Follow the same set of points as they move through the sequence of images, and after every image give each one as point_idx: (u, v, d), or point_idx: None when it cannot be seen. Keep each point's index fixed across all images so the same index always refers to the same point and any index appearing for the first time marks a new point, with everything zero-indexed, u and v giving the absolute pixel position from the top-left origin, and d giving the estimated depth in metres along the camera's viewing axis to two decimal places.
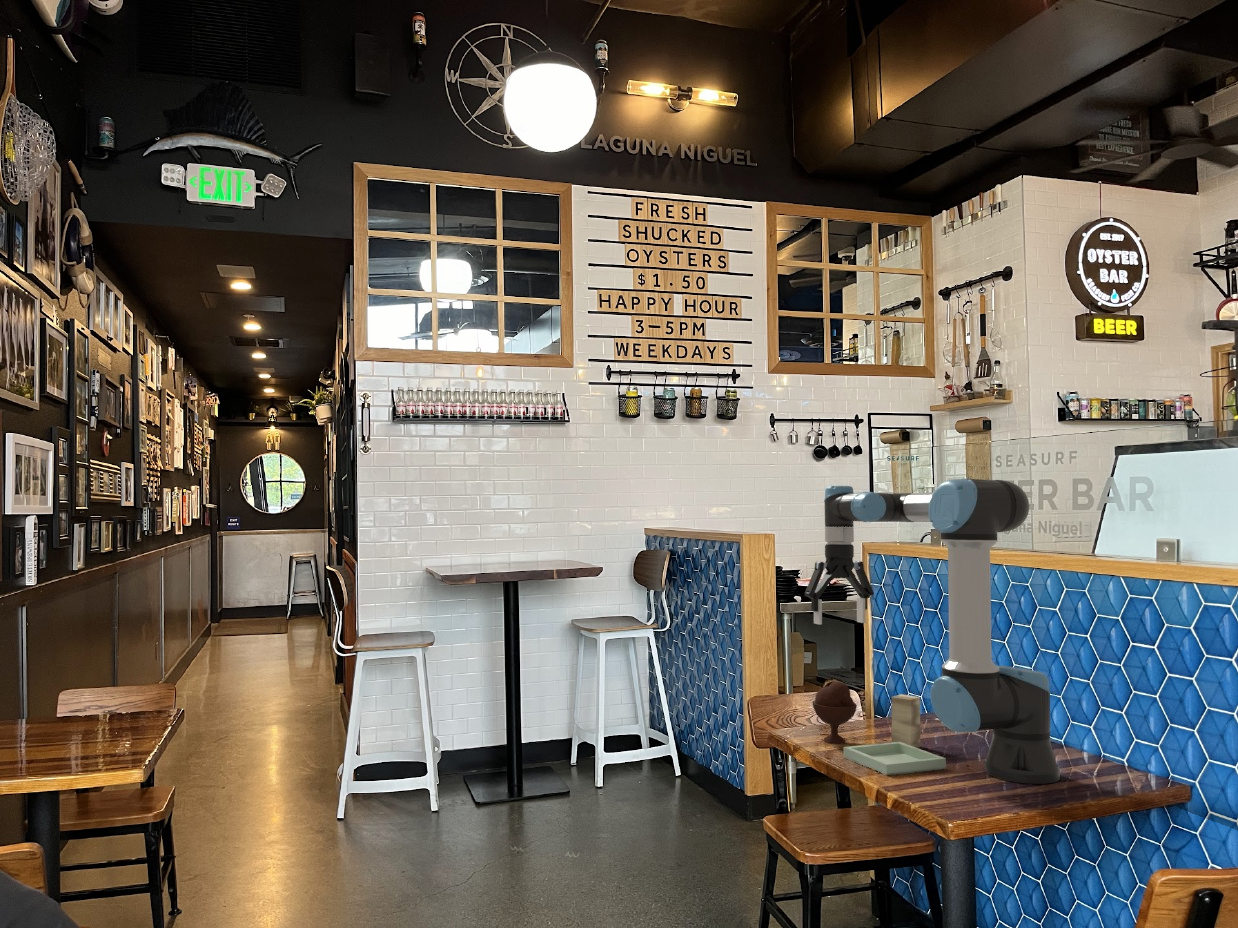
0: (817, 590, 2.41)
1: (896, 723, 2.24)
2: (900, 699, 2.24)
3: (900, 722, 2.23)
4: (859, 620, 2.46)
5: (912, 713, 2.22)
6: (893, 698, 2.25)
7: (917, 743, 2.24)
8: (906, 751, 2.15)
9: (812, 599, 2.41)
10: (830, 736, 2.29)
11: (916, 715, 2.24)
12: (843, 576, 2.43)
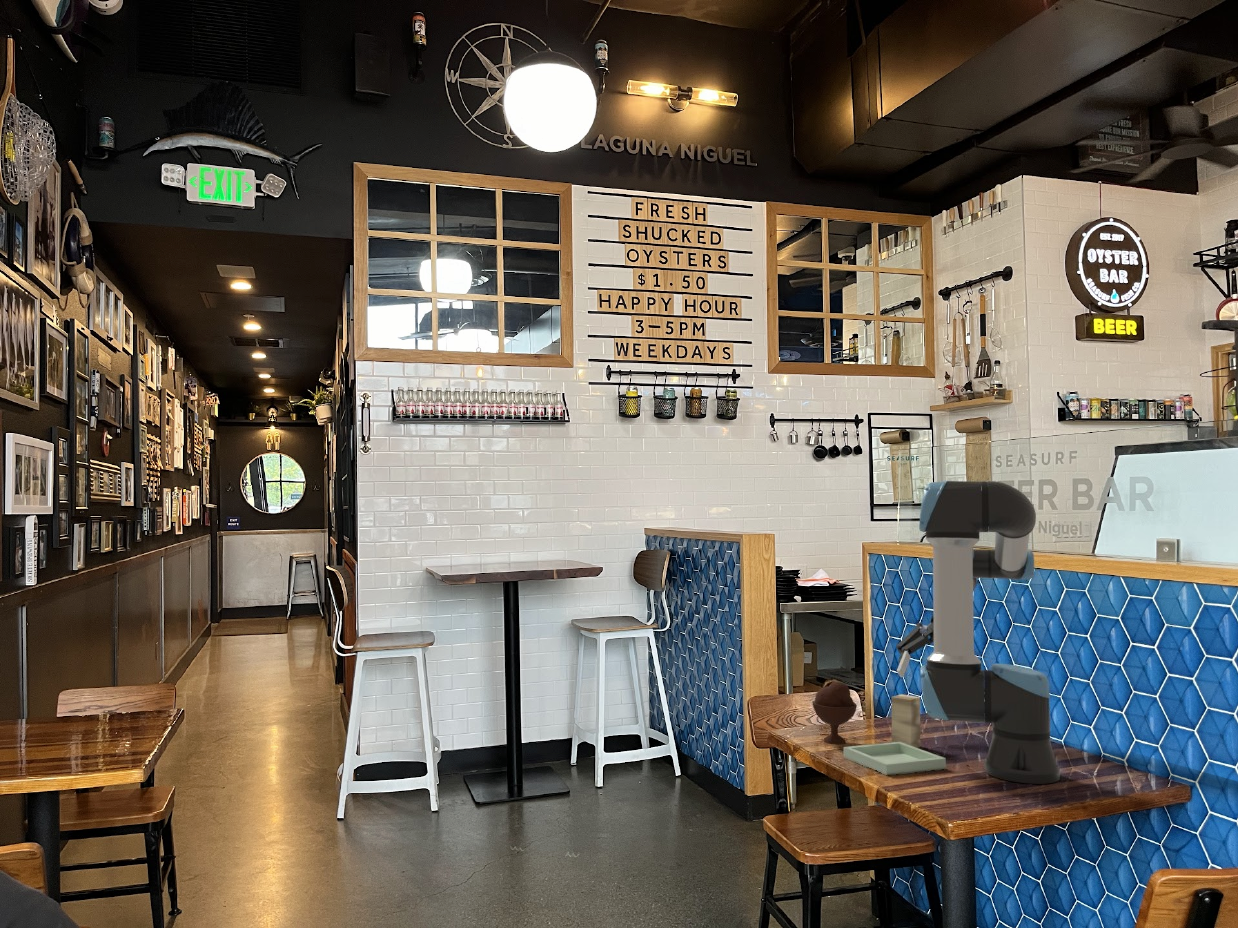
0: None
1: (896, 723, 2.24)
2: (900, 699, 2.24)
3: (900, 722, 2.23)
4: None
5: (912, 713, 2.22)
6: (893, 698, 2.25)
7: (917, 743, 2.24)
8: (906, 751, 2.15)
9: None
10: (830, 736, 2.29)
11: (916, 715, 2.24)
12: None
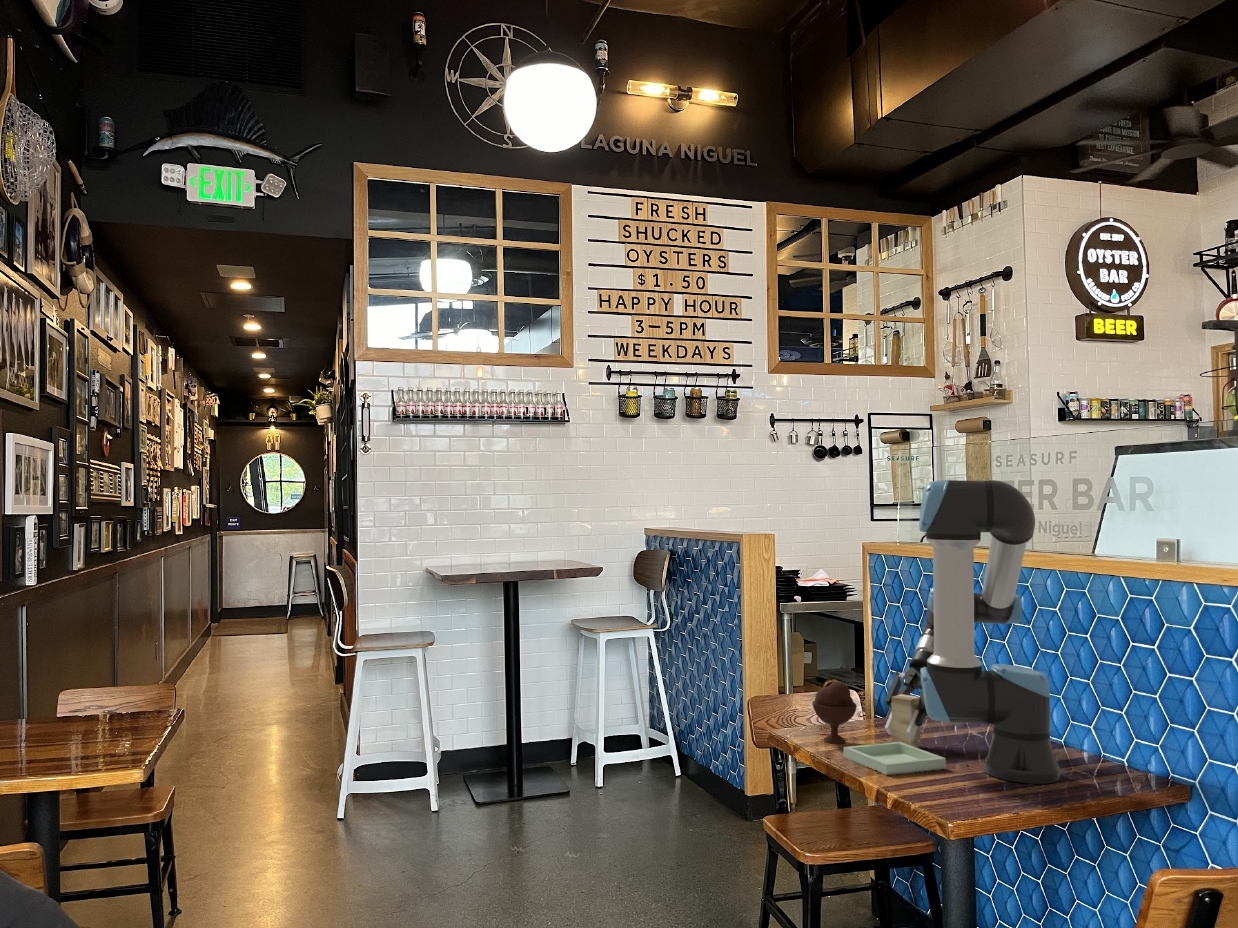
0: None
1: (896, 723, 2.24)
2: (900, 699, 2.24)
3: (900, 722, 2.23)
4: None
5: (912, 713, 2.22)
6: (893, 698, 2.25)
7: (917, 743, 2.24)
8: (906, 751, 2.15)
9: None
10: (830, 736, 2.29)
11: None
12: (918, 683, 2.29)
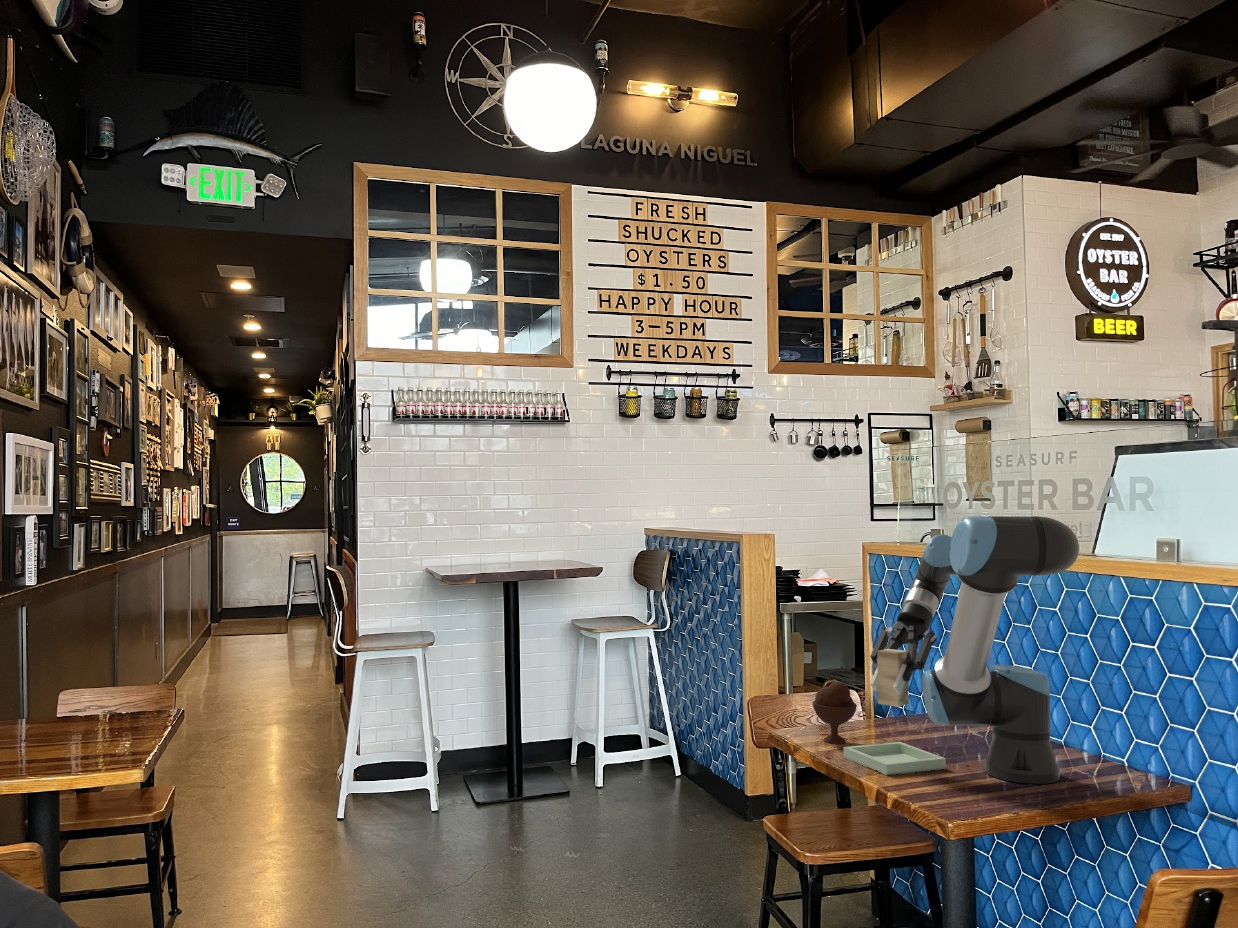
0: None
1: (882, 679, 2.09)
2: (886, 653, 2.09)
3: (886, 677, 2.09)
4: None
5: (899, 667, 2.08)
6: (879, 652, 2.10)
7: (905, 700, 2.09)
8: (906, 751, 2.15)
9: None
10: (830, 736, 2.29)
11: None
12: (906, 637, 2.15)
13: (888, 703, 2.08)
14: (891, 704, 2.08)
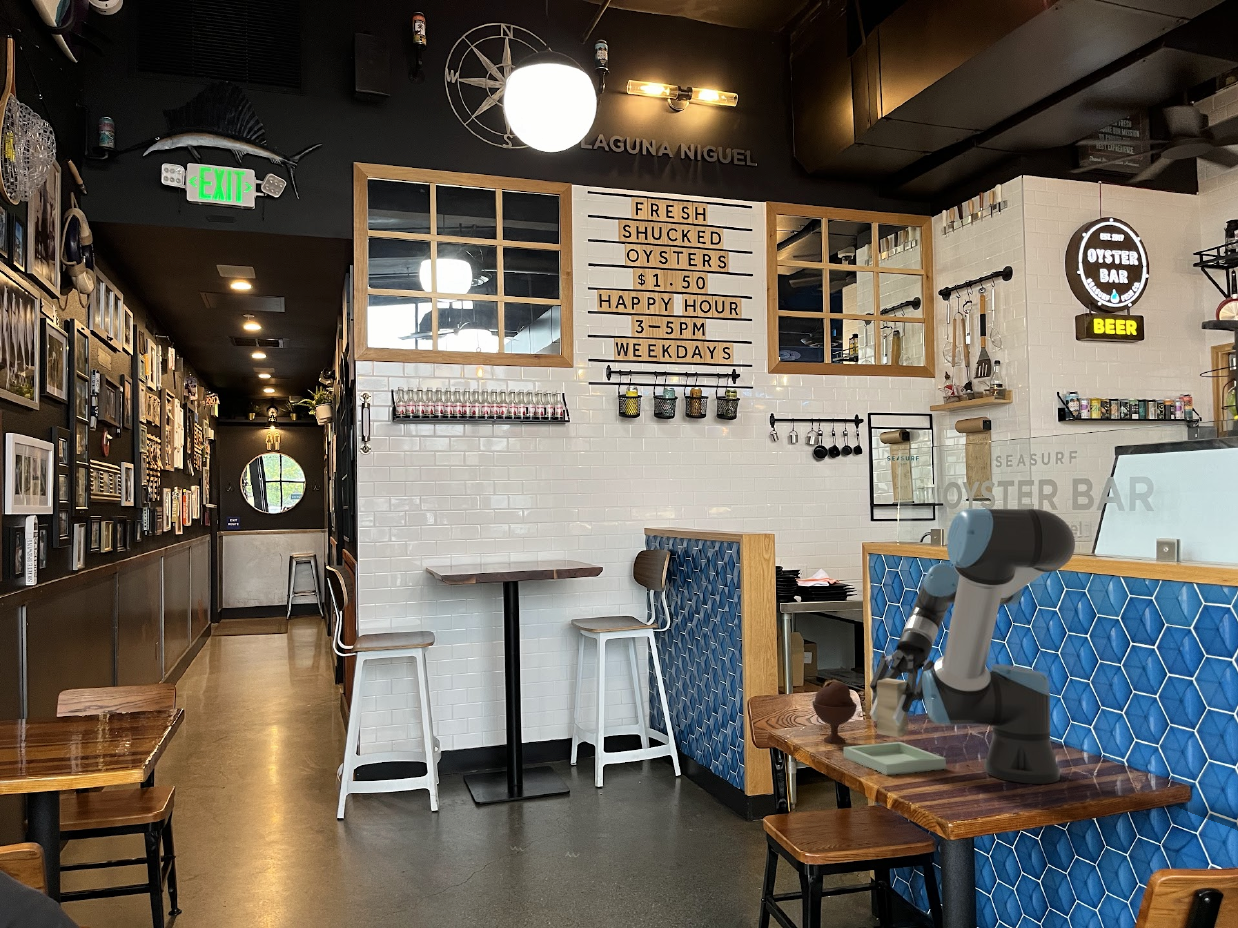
0: None
1: (881, 709, 2.10)
2: (886, 683, 2.09)
3: (886, 708, 2.09)
4: None
5: (899, 698, 2.08)
6: (879, 682, 2.10)
7: (904, 730, 2.09)
8: (906, 751, 2.15)
9: None
10: (830, 736, 2.29)
11: None
12: (906, 666, 2.15)
13: (887, 733, 2.08)
14: (890, 734, 2.08)
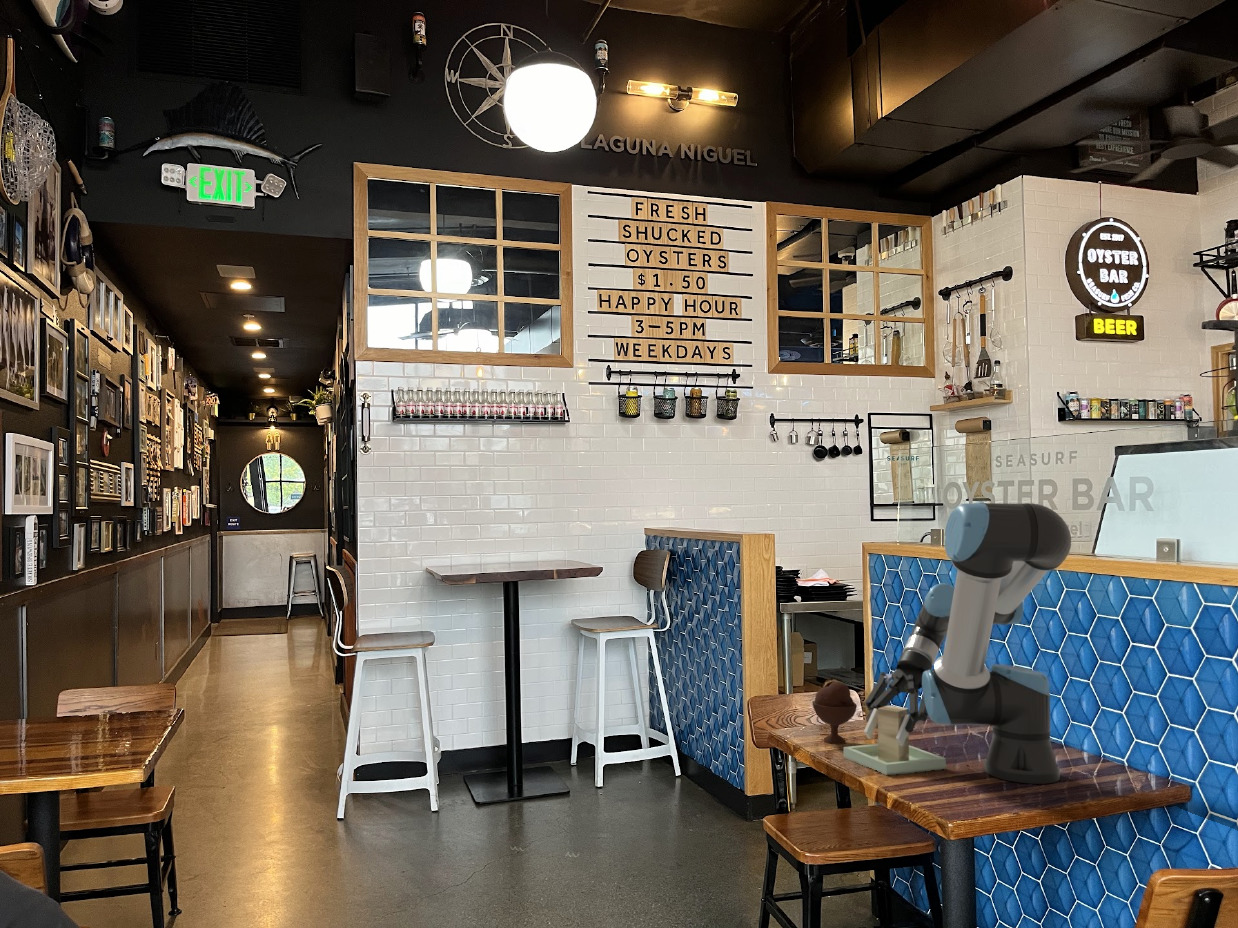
0: None
1: (882, 737, 2.08)
2: (887, 711, 2.08)
3: (887, 735, 2.08)
4: None
5: (900, 725, 2.07)
6: (880, 709, 2.09)
7: (905, 758, 2.08)
8: None
9: None
10: (830, 736, 2.29)
11: None
12: (905, 686, 2.14)
13: (889, 761, 2.07)
14: None
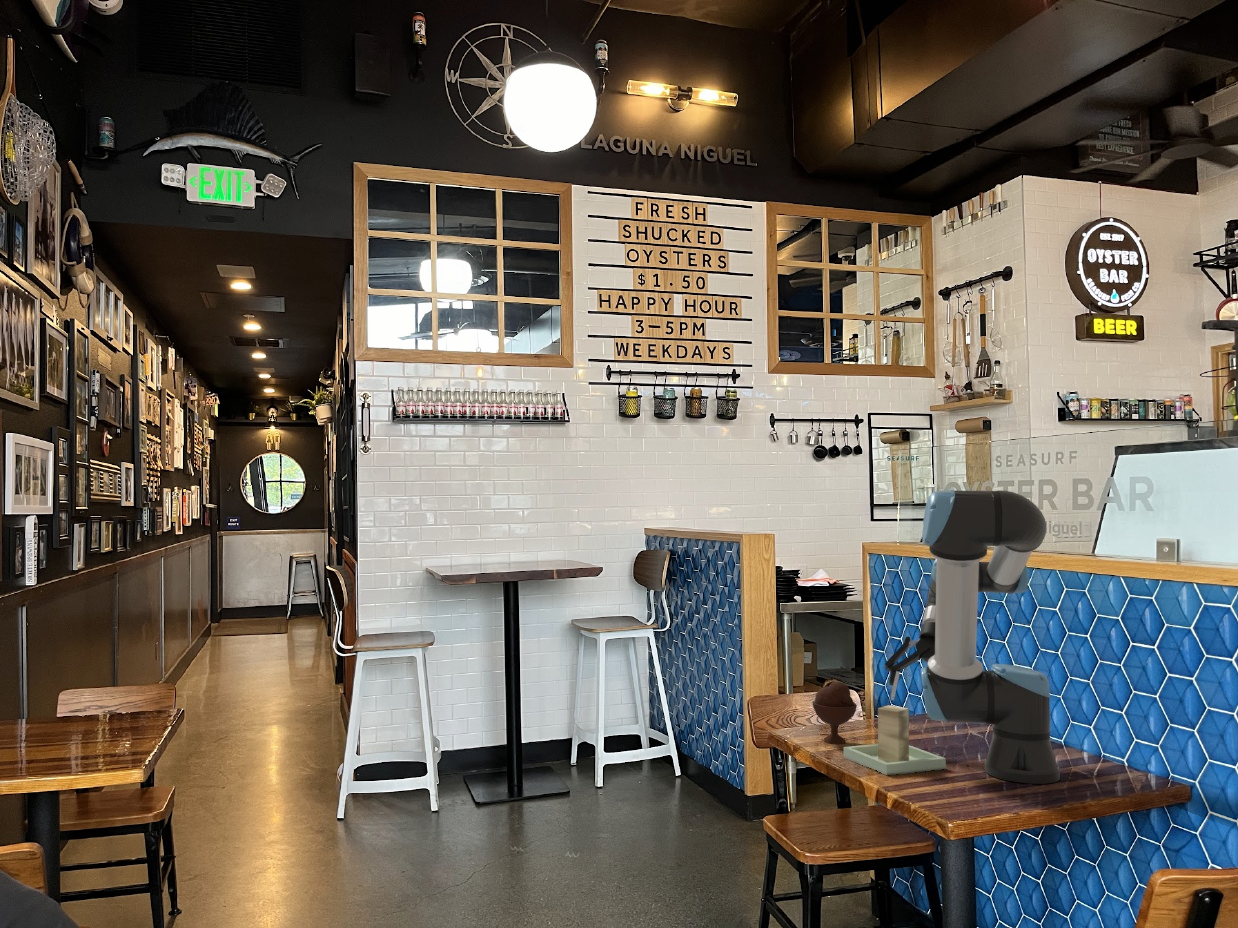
0: None
1: (882, 737, 2.08)
2: (887, 711, 2.08)
3: (887, 735, 2.08)
4: None
5: (900, 725, 2.07)
6: (880, 709, 2.09)
7: (905, 758, 2.08)
8: None
9: None
10: (830, 736, 2.29)
11: (904, 728, 2.08)
12: None
13: (889, 761, 2.07)
14: None
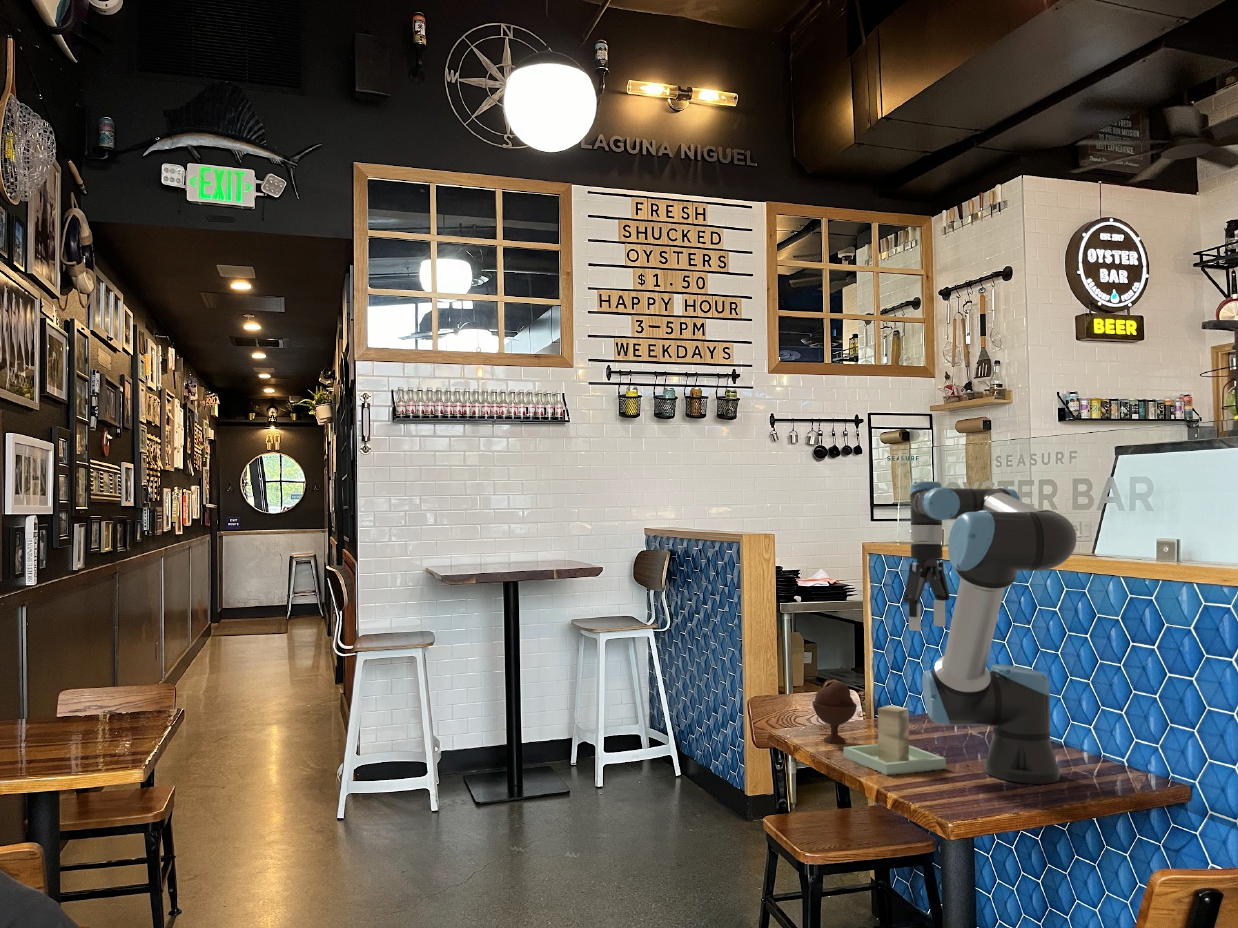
0: None
1: (882, 737, 2.08)
2: (887, 711, 2.08)
3: (887, 735, 2.08)
4: (938, 624, 2.32)
5: (900, 725, 2.07)
6: (880, 709, 2.09)
7: (905, 758, 2.08)
8: None
9: (911, 604, 2.22)
10: (830, 736, 2.29)
11: (904, 728, 2.08)
12: (931, 578, 2.28)
13: (889, 761, 2.07)
14: None
